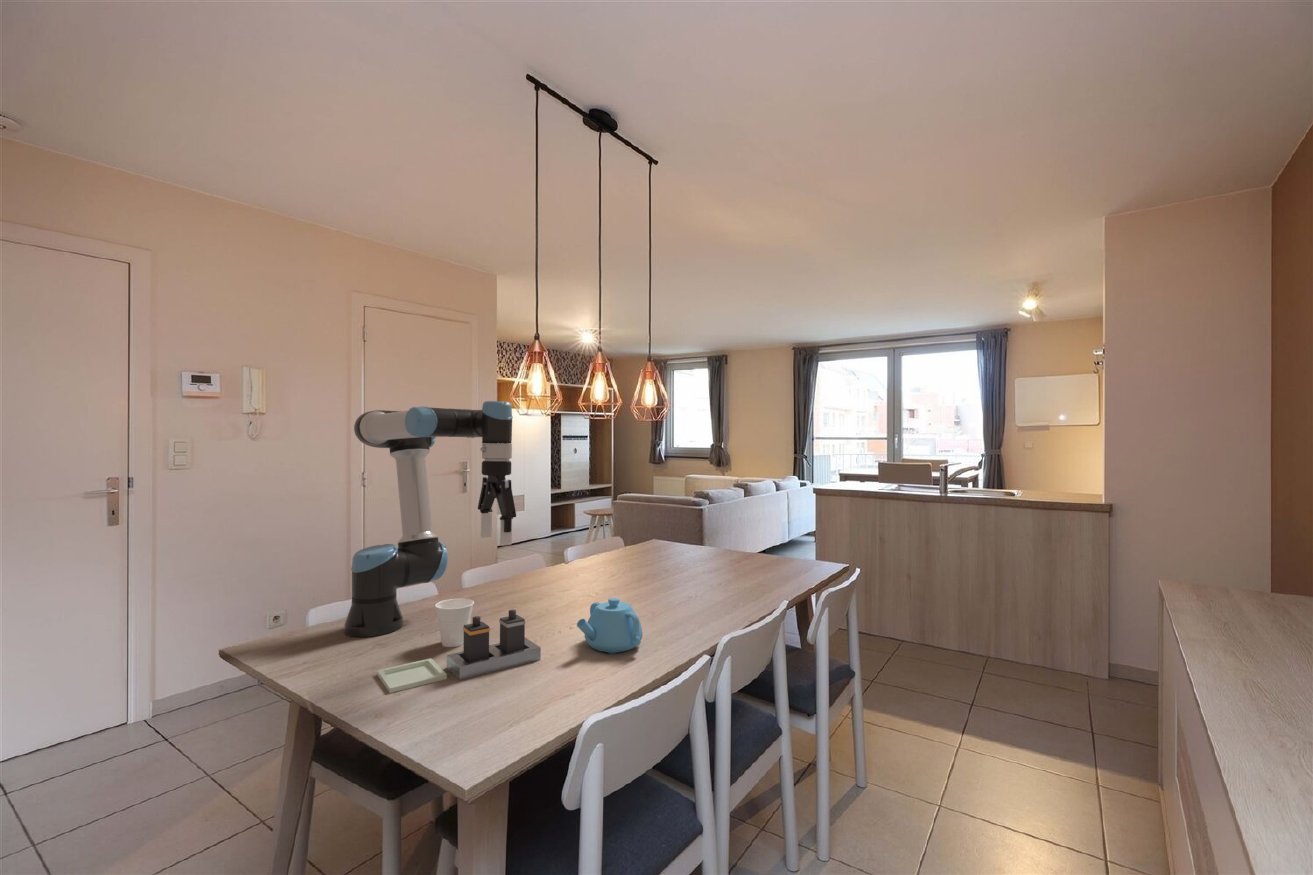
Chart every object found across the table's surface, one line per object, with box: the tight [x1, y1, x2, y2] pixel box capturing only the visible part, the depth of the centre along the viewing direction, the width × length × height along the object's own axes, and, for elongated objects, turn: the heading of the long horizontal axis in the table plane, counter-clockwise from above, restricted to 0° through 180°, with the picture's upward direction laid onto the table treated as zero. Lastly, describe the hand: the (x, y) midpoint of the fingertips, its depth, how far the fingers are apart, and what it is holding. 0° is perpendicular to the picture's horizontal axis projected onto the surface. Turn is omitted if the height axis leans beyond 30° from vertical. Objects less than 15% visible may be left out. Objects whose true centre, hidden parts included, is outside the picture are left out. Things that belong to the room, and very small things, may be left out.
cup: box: [434, 598, 475, 648], centre depth 150 cm, size 10×10×11 cm
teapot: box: [576, 597, 643, 655], centre depth 148 cm, size 20×20×13 cm
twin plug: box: [498, 609, 526, 654], centre depth 139 cm, size 5×5×12 cm
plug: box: [462, 615, 491, 663], centre depth 134 cm, size 5×5×12 cm
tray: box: [376, 657, 448, 694], centre depth 129 cm, size 12×12×2 cm
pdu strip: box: [446, 637, 542, 681], centre depth 137 cm, size 9×20×4 cm, turn 128°
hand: (495, 541), depth 148 cm, fingers open, 13 cm apart
